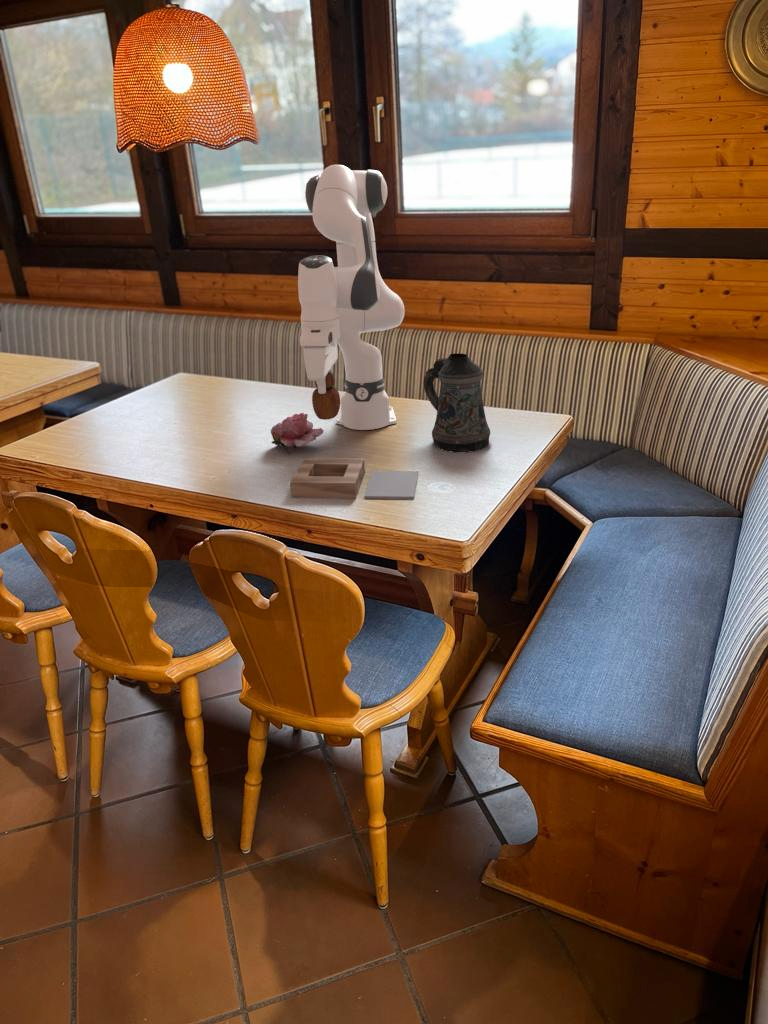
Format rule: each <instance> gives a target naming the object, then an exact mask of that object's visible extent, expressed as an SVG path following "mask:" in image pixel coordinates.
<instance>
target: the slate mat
mask: <svg viewBox="0 0 768 1024" xmlns="http://www.w3.org/2000/svg"><path fill="white" fill-rule="evenodd" d="M418 473H420V472H419V471H418V470H372V472H371V475H370V477H369V481H368V484H367V488H366V490H365V493H364V497H363V498H364V499H379V500H380V499H383V500H384V499H385V500H386V499H388V500H389V499H390V500H395V499H396V500H404V499H405V500H406V499H407V500H414V499H415V495H416V490H417V489H416V488H417V484H418V478H419V474H418Z"/></svg>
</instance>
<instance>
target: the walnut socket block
mask: <svg viewBox="0 0 768 1024" xmlns="http://www.w3.org/2000/svg"><path fill="white" fill-rule="evenodd" d="M299 464H300V465H298V468H297V470H296V472H294V475H293V476H292V479H291V480H290V483H289V485H290V494H291V495H290V496H291V498H297V499H300V498H304V499H307V498H308V499H313V498H314V499H315V498H316V499H317V498H318V499H357V497H358V495H359V492H360V489H361V486H362V482H363V481H364V477H365V474H366V463H365V458H321V457H320V458H312V457H309V458H307V457H306V458H303V459H302V461H301V463H299Z"/></svg>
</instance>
